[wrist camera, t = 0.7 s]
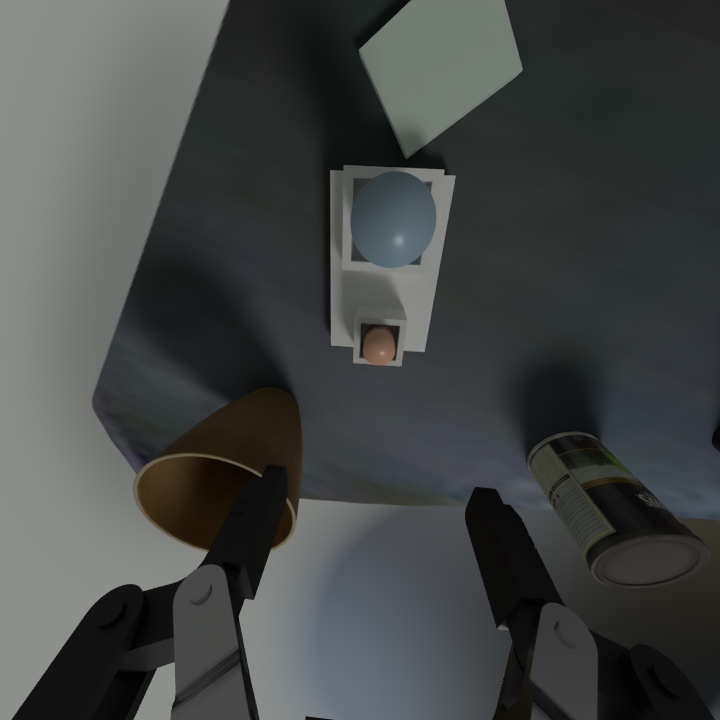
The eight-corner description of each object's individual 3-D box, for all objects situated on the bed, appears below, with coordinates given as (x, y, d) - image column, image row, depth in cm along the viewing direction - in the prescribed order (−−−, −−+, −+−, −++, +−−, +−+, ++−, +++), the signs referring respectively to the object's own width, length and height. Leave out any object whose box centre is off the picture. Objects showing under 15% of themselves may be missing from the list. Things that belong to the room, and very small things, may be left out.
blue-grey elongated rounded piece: (419, 193, 23) (444, 173, 15) (411, 255, 26) (428, 270, 17) (362, 190, 24) (351, 168, 15) (359, 252, 26) (349, 265, 17)
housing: (450, 179, 24) (469, 166, 19) (421, 345, 32) (430, 368, 27) (333, 174, 25) (321, 160, 20) (333, 338, 33) (324, 360, 27)
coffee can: (578, 418, 36) (686, 522, 23) (615, 457, 38) (729, 569, 26) (511, 455, 40) (573, 562, 27) (548, 489, 42) (620, 599, 30)
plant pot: (276, 457, 43) (225, 571, 29) (204, 395, 38) (101, 496, 24) (346, 418, 38) (327, 531, 24) (276, 342, 33) (199, 427, 19)
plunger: (394, 324, 27) (396, 337, 24) (391, 350, 28) (393, 366, 25) (365, 322, 27) (363, 335, 24) (363, 348, 28) (361, 364, 25)
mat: (480, -56, 18) (485, -70, 17) (516, 76, 21) (522, 69, 20) (359, 57, 21) (358, 49, 20) (406, 159, 24) (407, 157, 23)
